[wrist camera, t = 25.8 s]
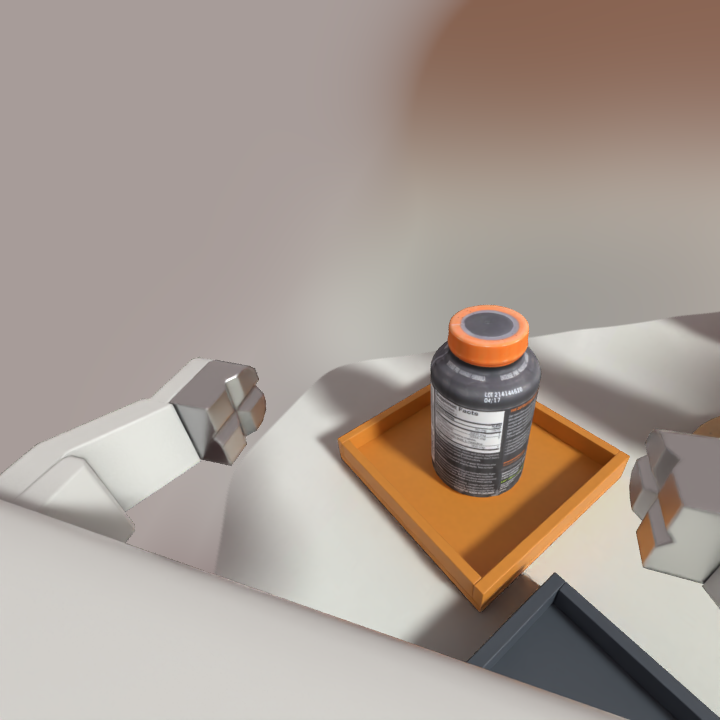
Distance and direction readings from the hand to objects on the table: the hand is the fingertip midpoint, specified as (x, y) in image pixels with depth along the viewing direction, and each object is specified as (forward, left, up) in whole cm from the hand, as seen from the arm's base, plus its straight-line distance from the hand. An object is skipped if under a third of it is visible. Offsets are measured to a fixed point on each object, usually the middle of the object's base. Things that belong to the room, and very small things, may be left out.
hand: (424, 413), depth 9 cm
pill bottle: (-7, +11, -17) cm, 21 cm away
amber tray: (-7, +11, -17) cm, 22 cm away
